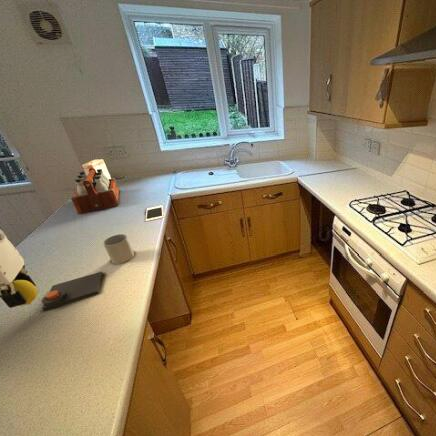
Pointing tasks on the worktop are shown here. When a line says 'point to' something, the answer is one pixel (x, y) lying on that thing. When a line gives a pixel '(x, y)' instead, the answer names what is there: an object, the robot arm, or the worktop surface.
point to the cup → (118, 248)
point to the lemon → (25, 290)
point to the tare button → (52, 295)
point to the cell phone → (154, 213)
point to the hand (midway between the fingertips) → (23, 296)
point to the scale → (74, 290)
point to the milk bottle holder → (95, 191)
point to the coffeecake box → (96, 167)
